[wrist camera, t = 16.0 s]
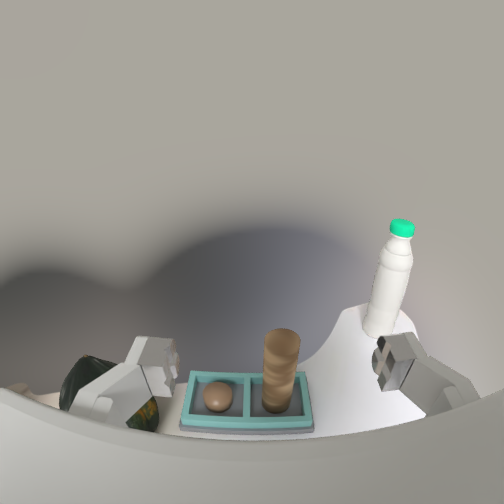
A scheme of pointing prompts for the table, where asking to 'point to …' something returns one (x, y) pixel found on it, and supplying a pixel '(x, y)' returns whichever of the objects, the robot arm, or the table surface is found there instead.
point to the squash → (91, 370)
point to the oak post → (279, 369)
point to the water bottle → (390, 280)
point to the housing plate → (242, 406)
